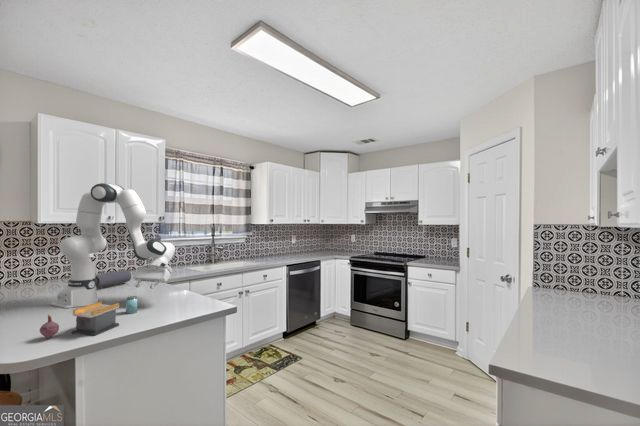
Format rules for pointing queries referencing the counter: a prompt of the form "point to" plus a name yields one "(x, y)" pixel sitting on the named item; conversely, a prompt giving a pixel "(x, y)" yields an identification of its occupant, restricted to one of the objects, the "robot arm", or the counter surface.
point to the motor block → (95, 318)
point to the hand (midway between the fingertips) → (144, 287)
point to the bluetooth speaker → (112, 279)
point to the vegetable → (49, 328)
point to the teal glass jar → (131, 305)
